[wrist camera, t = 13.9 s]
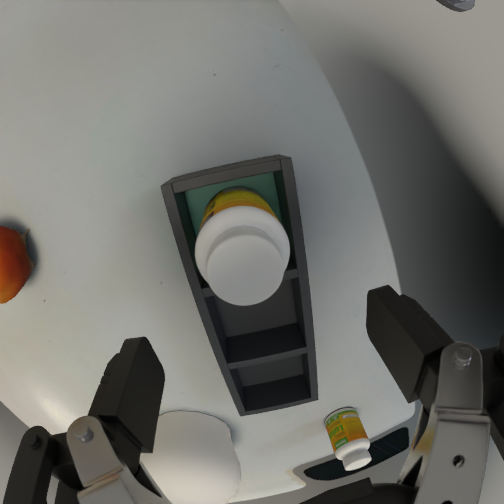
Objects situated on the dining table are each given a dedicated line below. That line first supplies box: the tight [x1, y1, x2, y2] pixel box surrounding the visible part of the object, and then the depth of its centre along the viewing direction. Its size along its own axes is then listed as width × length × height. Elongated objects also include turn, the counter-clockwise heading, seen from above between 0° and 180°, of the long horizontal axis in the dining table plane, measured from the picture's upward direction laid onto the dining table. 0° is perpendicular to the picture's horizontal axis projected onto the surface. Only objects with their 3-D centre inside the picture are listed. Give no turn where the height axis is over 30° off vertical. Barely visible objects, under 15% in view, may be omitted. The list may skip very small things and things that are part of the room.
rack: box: [161, 155, 318, 416], centre depth 25 cm, size 9×26×4 cm, turn 11°
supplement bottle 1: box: [195, 186, 290, 306], centre depth 19 cm, size 6×6×10 cm
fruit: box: [0, 226, 35, 304], centre depth 20 cm, size 8×8×8 cm
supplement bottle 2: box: [325, 408, 371, 470], centre depth 33 cm, size 5×5×10 cm
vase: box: [140, 411, 241, 504], centre depth 26 cm, size 14×14×20 cm
